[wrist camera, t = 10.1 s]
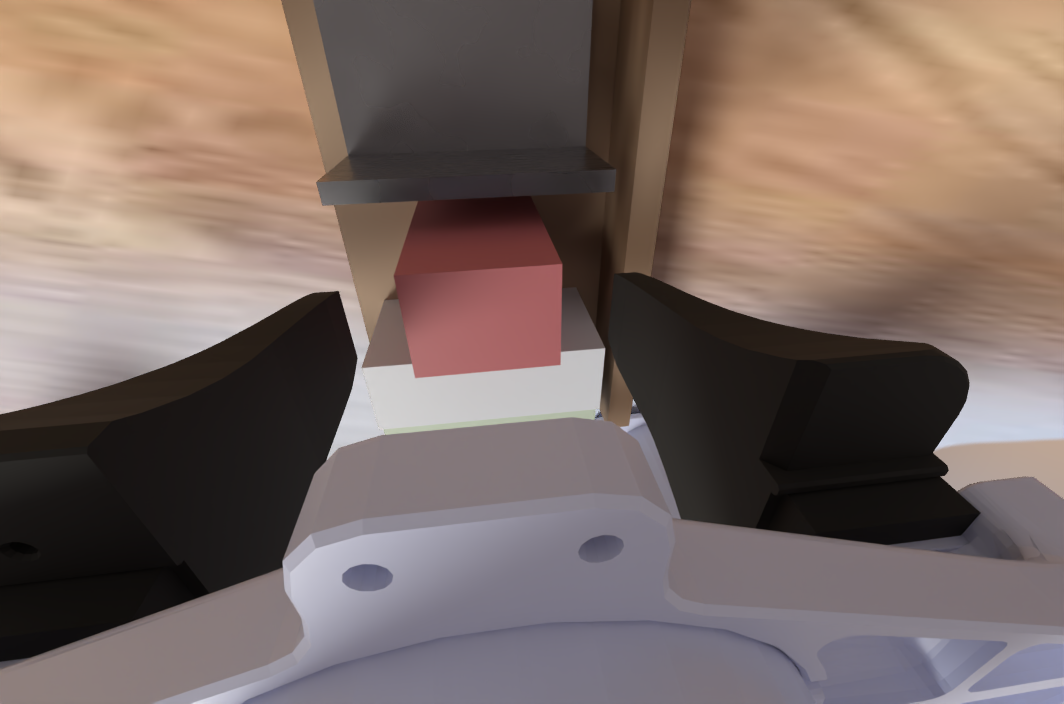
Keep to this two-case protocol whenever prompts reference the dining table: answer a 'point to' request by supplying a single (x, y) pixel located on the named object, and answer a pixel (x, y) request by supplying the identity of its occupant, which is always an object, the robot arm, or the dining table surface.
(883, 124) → the dining table surface
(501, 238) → the red block
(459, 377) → the books
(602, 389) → the shelf board
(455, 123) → the bookend
